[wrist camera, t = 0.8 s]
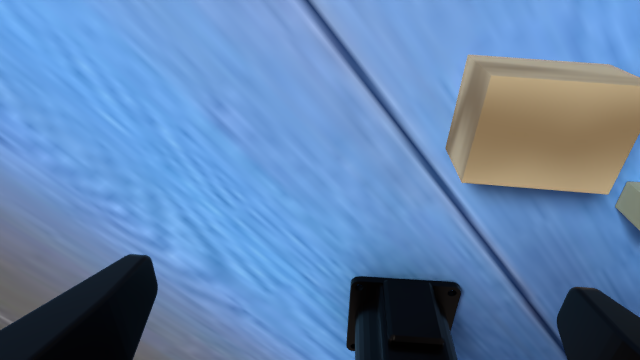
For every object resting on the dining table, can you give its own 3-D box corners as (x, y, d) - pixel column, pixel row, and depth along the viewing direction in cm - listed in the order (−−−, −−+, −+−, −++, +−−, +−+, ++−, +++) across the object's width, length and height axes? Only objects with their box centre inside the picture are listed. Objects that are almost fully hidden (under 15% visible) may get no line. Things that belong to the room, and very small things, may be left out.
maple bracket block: (567, 156, 19) (608, 194, 16) (444, 146, 19) (461, 182, 16) (607, 63, 17) (662, 87, 14) (466, 53, 17) (491, 75, 14)
